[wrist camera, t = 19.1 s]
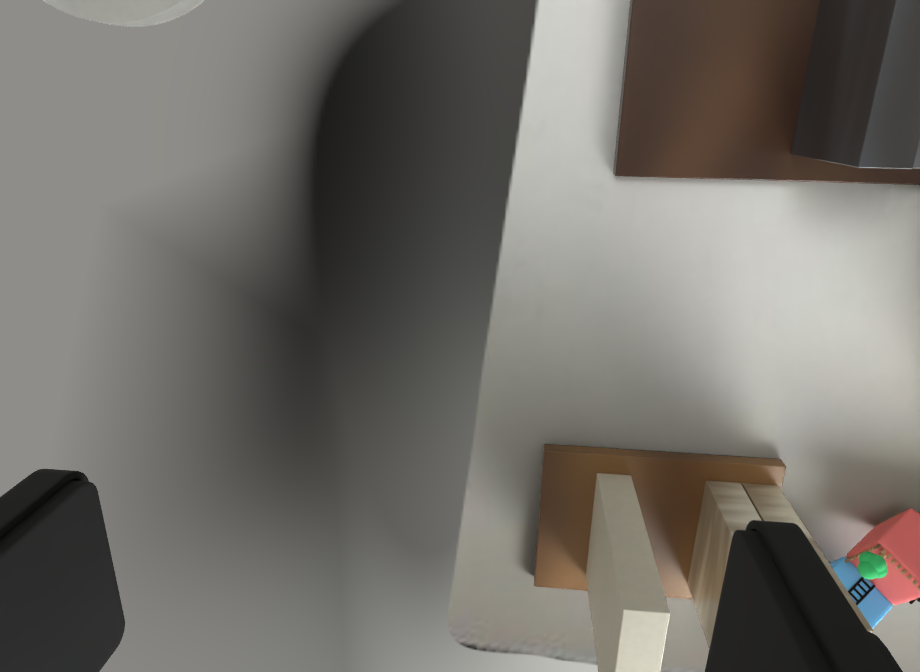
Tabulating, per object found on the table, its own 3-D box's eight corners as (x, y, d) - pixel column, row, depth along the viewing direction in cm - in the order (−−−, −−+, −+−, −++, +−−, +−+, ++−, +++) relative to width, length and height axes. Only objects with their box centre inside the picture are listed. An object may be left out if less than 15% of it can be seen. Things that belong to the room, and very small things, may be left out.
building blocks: (873, 512, 50) (778, 603, 46) (946, 473, 44) (842, 576, 39) (964, 599, 47) (870, 706, 43) (1057, 572, 40) (958, 696, 36)
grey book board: (612, 174, 39) (637, 194, 31) (635, -51, 35) (670, -100, 26) (940, 183, 37) (1061, 207, 29) (1005, -51, 33) (1168, -103, 25)
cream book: (585, 575, 48) (606, 734, 36) (596, 472, 45) (623, 609, 33) (617, 577, 48) (649, 738, 36) (631, 474, 45) (670, 613, 33)
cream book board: (534, 577, 50) (537, 746, 37) (543, 443, 46) (551, 579, 33) (750, 595, 49) (833, 777, 36) (781, 458, 44) (887, 607, 31)
